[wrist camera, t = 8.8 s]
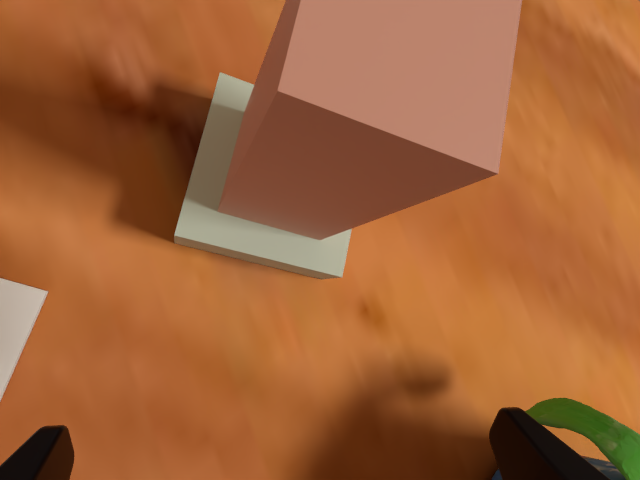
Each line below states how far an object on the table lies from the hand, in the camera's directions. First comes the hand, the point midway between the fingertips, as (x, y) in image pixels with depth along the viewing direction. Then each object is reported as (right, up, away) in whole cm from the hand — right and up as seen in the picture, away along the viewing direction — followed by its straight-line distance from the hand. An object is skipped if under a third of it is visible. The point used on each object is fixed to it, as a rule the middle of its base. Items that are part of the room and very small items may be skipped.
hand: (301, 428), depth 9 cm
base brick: (-2, +7, +14) cm, 16 cm away
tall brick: (-1, +7, +11) cm, 13 cm away
